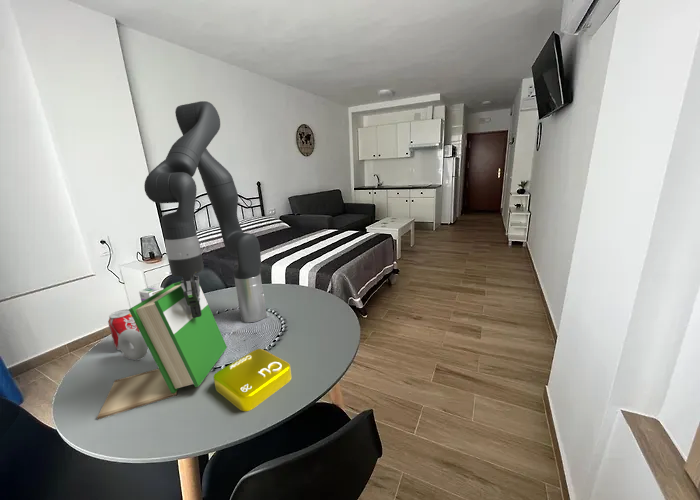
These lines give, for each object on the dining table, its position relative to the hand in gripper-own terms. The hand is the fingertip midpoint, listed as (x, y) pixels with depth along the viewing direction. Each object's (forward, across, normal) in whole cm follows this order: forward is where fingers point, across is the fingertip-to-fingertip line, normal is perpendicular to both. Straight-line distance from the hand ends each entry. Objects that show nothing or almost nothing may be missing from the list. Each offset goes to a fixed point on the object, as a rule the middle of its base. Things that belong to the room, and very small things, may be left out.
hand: (197, 316), depth 78 cm
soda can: (+17, +27, +24) cm, 40 cm away
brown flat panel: (+17, 0, +15) cm, 23 cm away
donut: (+17, +17, +20) cm, 32 cm away
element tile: (+18, -11, -11) cm, 24 cm away
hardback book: (+16, 0, +1) cm, 16 cm away
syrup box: (+17, +39, +17) cm, 46 cm away
